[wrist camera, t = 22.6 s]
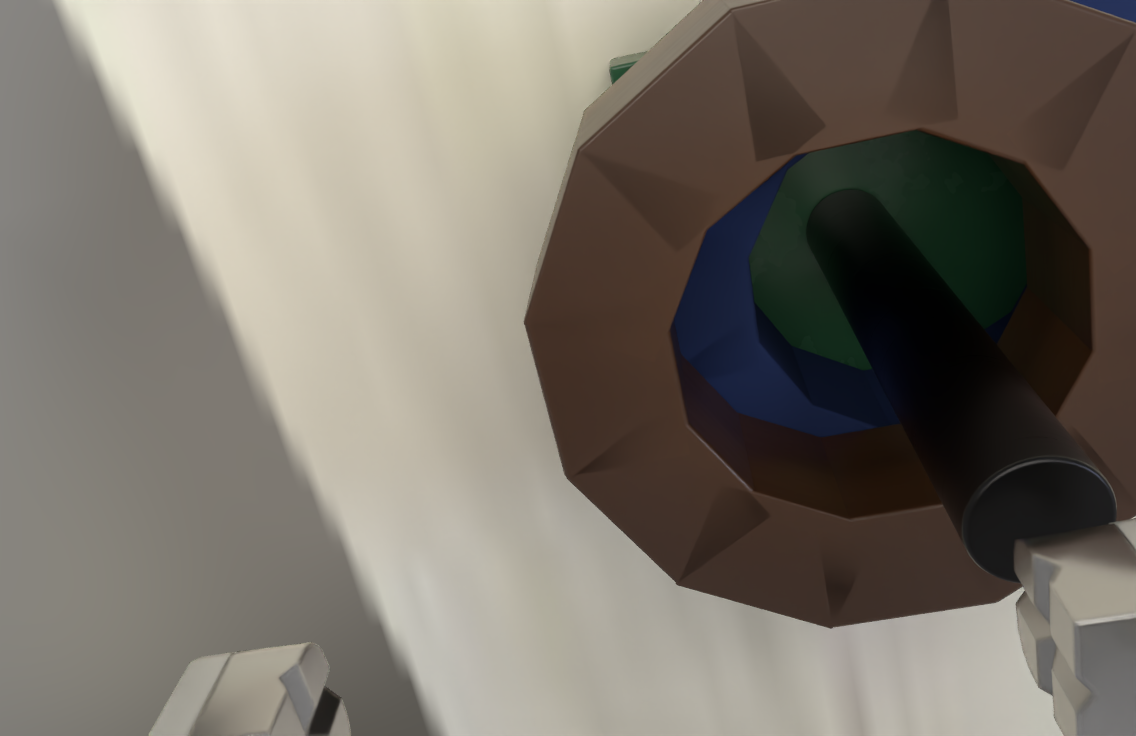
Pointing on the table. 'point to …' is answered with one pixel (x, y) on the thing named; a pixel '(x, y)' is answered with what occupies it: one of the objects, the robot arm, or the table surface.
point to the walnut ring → (737, 168)
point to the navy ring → (756, 347)
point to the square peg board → (927, 324)
